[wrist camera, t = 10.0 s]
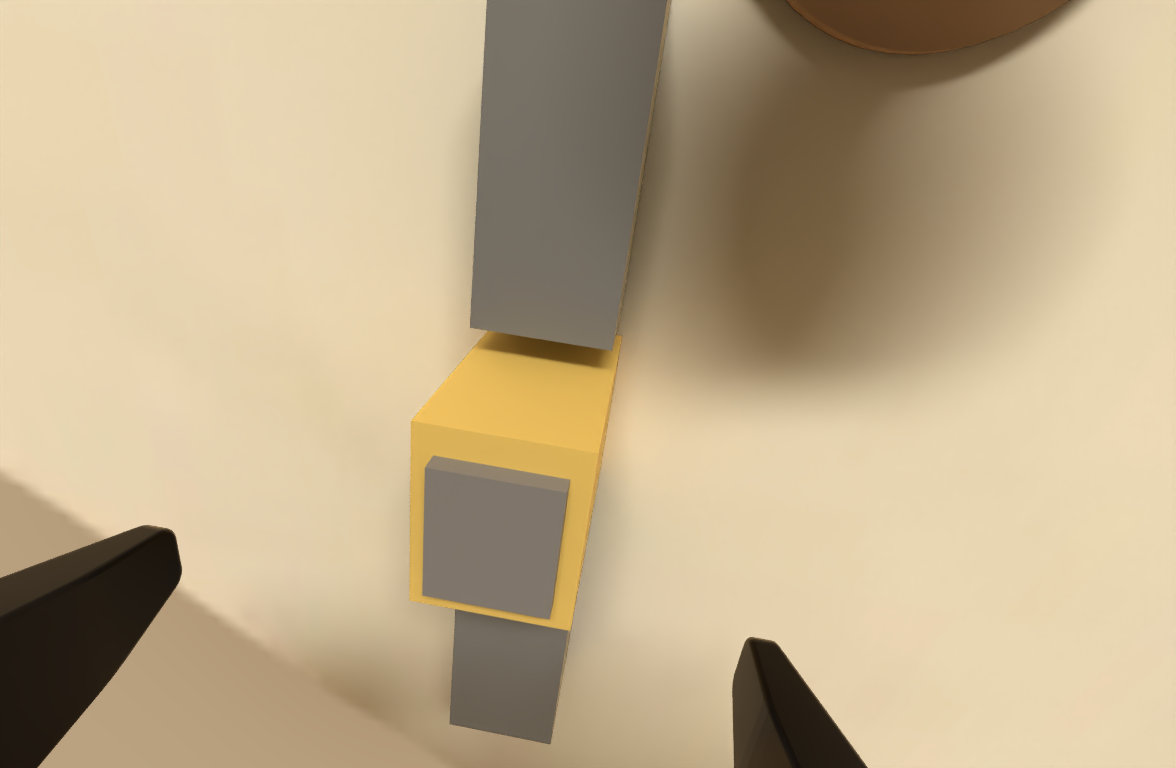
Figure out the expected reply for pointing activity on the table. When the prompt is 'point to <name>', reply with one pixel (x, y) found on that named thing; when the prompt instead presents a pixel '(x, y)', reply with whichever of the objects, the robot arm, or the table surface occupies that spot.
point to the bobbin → (920, 21)
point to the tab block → (509, 478)
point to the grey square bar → (552, 257)
